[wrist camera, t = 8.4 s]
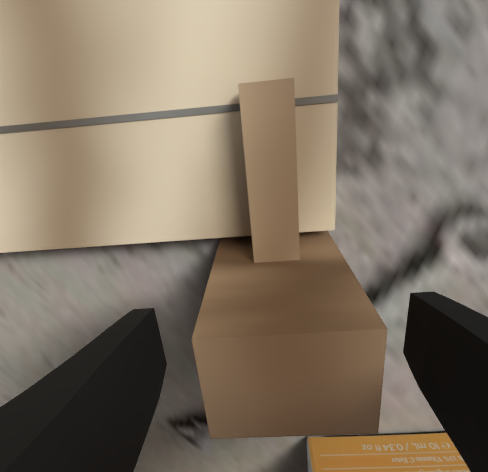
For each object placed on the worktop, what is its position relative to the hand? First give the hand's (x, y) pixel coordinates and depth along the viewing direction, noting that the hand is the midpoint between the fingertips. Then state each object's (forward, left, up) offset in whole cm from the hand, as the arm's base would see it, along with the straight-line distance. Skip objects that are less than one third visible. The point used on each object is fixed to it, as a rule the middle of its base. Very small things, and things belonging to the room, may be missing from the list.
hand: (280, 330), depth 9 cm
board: (-7, +6, -4) cm, 10 cm away
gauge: (0, +3, -4) cm, 5 cm away
